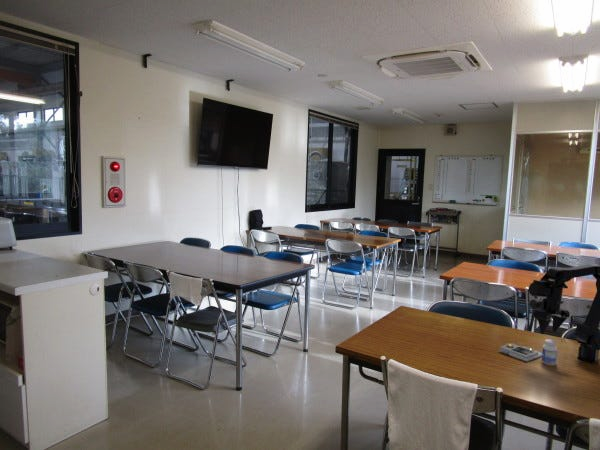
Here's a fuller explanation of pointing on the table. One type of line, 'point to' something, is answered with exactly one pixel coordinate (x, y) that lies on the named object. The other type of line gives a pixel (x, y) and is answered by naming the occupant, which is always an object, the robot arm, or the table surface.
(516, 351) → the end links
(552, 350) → the pill bottle
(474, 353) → the table surface
